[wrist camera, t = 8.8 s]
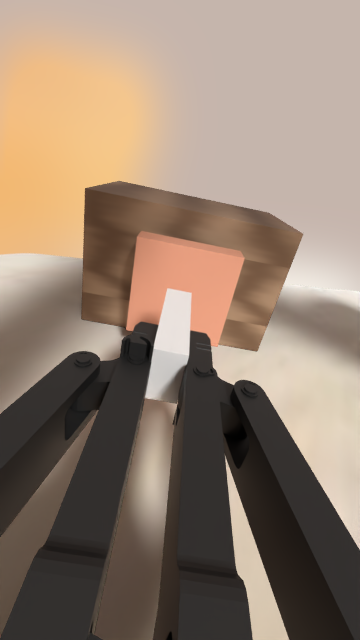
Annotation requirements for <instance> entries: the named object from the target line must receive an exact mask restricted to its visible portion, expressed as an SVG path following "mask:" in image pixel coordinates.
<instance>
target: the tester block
mask: <svg viewBox="0 0 360 640" xmlns="http://www.w3.org/2000/svg"><path fill="white" fill-rule="evenodd" d="M141 231H145V232H150V233H155V234H160V235H164V236H169V237H174V238H179V239H184V240H189V241H194V242H199V243H204V244H209V245H214V246H218V247H223V248H228V249H233V250H238V251H241V253H242V254H243V256H244V258H245V259H244V262H243V265H242V269H241V272H240V275H239V278H238V282H237V285H236V288H235V291H234V295H233V298H232V301H231V304H230V308H229V311H228V314H227V317H226V321H225V324H224V327H223V330H222V334H221V337H220V340H219V343H218V344H220V345H225V346H231V347H236V348H241V349H247V350H252V351H258V348H259V346H260V343H261V340H262V338H263V335H264V333H265V330H266V328H267V325H268V323H269V320H270V318H271V315H272V312H273V310H274V307H275V305H276V302H277V300H278V297H279V295H280V292H281V290H282V287H283V284H284V282H285V279H286V277H287V274H288V272H289V269H290V267H291V264H292V262H293V259H294V256H295V254H296V251H297V249H298V246H299V244H300V241H301V238H302V236H303V234H302V233H301V232H299V231H298V230H296V229H294V228H293V227H291V226H289V225H287V224H286V223H284V222H283V221H281V220H280V219H278V218H276V217H275V216H273V215H272V214H270V213H267V212H262V211H258V210H253V209H248V208H244V207H239V206H234V205H229V204H225V203H220V202H216V201H211V200H206V199H201V198H197V197H192V196H187V195H182V194H178V193H173V192H169V191H164V190H159V189H154V188H150V187H145V186H140V185H136V184H131V183H126V182H122V181H117V182H112V183H108V184H103V185H98V186H94V187H89V188H85V214H84V247H83V249H84V250H83V283H82V319H83V320H89V321H94V322H100V323H105V324H110V325H116V326H121V327H127V318H128V309H129V301H130V292H131V284H132V275H133V267H134V258H135V250H136V241H137V236H138V235H139V233H140V232H141Z"/></svg>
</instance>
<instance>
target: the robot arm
mask: <svg viewBox="0 0 360 640" xmlns="http://www.w3.org/2000/svg"><path fill="white" fill-rule="evenodd" d="M191 294H192V293H189V292H184V291H179V290H174V289H169V288H167V292H166V296H165V301H164V305H163V309H162V313H161V317H160V322H159V325H157V324H152V323H147V322H139V323H138V324H136V325H135V327H134V330H133V332H132V335H128V336H126V337H124V338H123V340H122V345H121V354H120V358H118V359H115V360H111V361H100V358H99V357H98V356H97V355H96V354H94V353H92V352H87V351H80V352H76V353H73V354H71V355H69V356H68V357H67V358H66V359H64V360H63V361H62V362H61V363H60V364H59V365H57V366H56V367H55V368H54V369H53V370H51V371H50V372H49V373H48V374H47V375H46V376H44V377H43V378H42V379H41V380H40V381H38V382H37V383H36V384H35V385H34V386H33V387H31V388H30V389H29V390H28V391H27V392H26V393H24V394H23V395H22V396H21V397H20V398H18V399H17V400H16V401H15V402H14V403H13V404H11V405H10V406H9V407H8V408H7V409H5V410H4V411H3V412H2V413H1V414H0V537H1V535H2V534H3V533H4V532H5V530H6V529H7V528H8V526H9V525H10V524H11V522H12V521H13V520H14V519H15V517H16V516H17V515H18V513H19V512H20V511H21V509H22V508H23V507H24V506H25V504H26V503H27V502H28V500H29V499H30V498H31V496H32V495H33V494H34V493H35V491H36V490H37V489H38V487H39V486H40V485H41V483H42V482H43V481H44V480H45V478H46V477H47V476H48V474H49V473H50V472H51V470H52V469H53V468H54V467H55V465H56V464H57V463H58V461H59V460H60V459H61V457H62V456H63V455H64V453H65V452H66V451H67V450H68V448H69V447H70V446H71V444H72V443H73V442H74V440H75V439H76V438H77V437H78V435H79V434H80V433H81V431H82V430H83V429H84V427H85V426H86V425H87V424H88V422H89V421H90V420H91V418H92V417H93V416H94V414H95V413H96V411H97V410H99V411H98V414H97V416H96V419H95V421H94V424H93V426H92V429H91V431H90V434H89V436H88V439H87V441H86V444H85V446H84V449H83V451H82V454H81V456H80V459H79V461H78V464H77V467H76V469H75V472H74V474H73V477H72V479H71V482H70V484H69V487H68V489H67V492H66V494H65V497H64V499H63V502H62V504H61V507H60V509H59V512H58V514H57V517H56V519H55V522H54V524H53V527H52V529H51V532H50V534H49V537H48V539H47V541H46V543H45V545H44V546H43V547H41V548H40V549H39V550H38V552H37V554H36V555H35V557H34V559H33V561H32V564H31V566H30V568H29V570H28V573H27V575H26V577H25V580H24V582H23V585H22V587H21V589H20V592H19V594H18V597H17V599H16V602H15V604H14V606H13V609H12V611H11V614H10V616H9V618H8V621H7V623H6V626H5V628H4V631H3V633H2V635H1V638H0V640H102V639H100V638H99V637H97V636H95V635H94V633H95V628H96V623H97V618H98V613H99V608H100V603H101V598H102V593H103V589H104V584H105V580H106V575H107V570H108V566H109V561H110V557H111V552H112V547H113V543H114V538H115V534H116V529H117V525H118V520H119V515H120V511H121V506H122V502H123V497H124V492H125V488H126V483H127V479H128V474H129V470H130V465H131V460H132V456H133V451H134V447H135V442H136V437H137V433H138V428H139V424H140V419H141V415H142V410H143V405H144V399H145V398H148V399H154V400H159V401H165V402H170V403H176V404H177V401H178V405H177V409H176V413H175V416H174V420H173V425H174V435H173V446H172V458H171V469H170V480H169V491H168V503H167V514H166V525H165V536H164V548H163V559H162V570H161V581H160V593H159V603H158V611H157V618H156V623H155V629H154V636H153V640H253V639H252V630H251V622H250V613H249V605H248V598H247V592H246V588H245V585H244V582H243V580H242V579H241V578H240V577H239V575H238V574H237V571H236V566H235V557H234V547H233V536H232V526H231V515H230V505H229V494H228V484H227V473H226V463H225V456H226V459H227V462H228V465H229V467H230V470H231V473H232V476H233V479H234V482H235V485H236V488H237V490H238V493H239V496H240V499H241V502H242V505H243V508H244V511H245V513H246V516H247V519H248V522H249V525H250V528H251V531H252V534H253V536H254V539H255V542H256V545H257V548H258V551H259V554H260V557H261V559H262V562H263V565H264V568H265V571H266V574H267V577H268V580H269V582H270V585H271V588H272V591H273V594H274V597H275V600H276V603H277V605H278V608H279V611H280V614H281V617H282V620H283V623H284V626H285V628H286V631H287V634H288V637H289V640H360V550H359V548H358V547H357V545H356V543H355V542H354V540H353V538H352V537H351V535H350V533H349V532H348V530H347V528H346V527H345V525H344V523H343V522H342V520H341V518H340V517H339V515H338V513H337V512H336V510H335V508H334V507H333V505H332V503H331V502H330V500H329V498H328V497H327V495H326V493H325V492H324V490H323V488H322V487H321V485H320V483H319V482H318V480H317V478H316V477H315V475H314V473H313V472H312V470H311V468H310V467H309V465H308V463H307V462H306V460H305V458H304V457H303V455H302V453H301V452H300V450H299V448H298V447H297V445H296V443H295V442H294V440H293V438H292V437H291V435H290V433H289V432H288V430H287V428H286V427H285V425H284V423H283V422H282V420H281V418H280V417H279V415H278V413H277V412H276V410H275V408H274V407H273V405H272V403H271V402H270V400H269V398H268V397H267V395H266V393H265V392H264V390H263V389H262V388H261V387H260V386H259V385H257V384H256V383H253V382H251V381H247V380H240V381H237V382H236V383H235V385H232V384H230V383H227V382H225V381H223V380H221V379H220V378H219V377H218V376H217V373H216V370H215V369H214V368H213V365H212V352H211V340H210V338H209V337H208V335H207V334H206V333H202V332H197V331H192V330H190V319H191Z"/></svg>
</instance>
